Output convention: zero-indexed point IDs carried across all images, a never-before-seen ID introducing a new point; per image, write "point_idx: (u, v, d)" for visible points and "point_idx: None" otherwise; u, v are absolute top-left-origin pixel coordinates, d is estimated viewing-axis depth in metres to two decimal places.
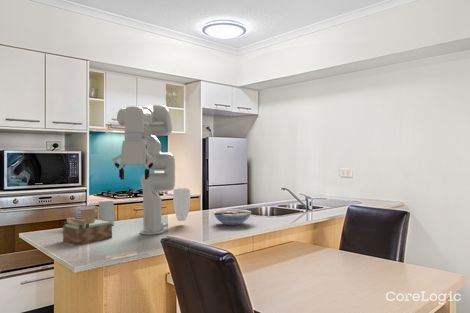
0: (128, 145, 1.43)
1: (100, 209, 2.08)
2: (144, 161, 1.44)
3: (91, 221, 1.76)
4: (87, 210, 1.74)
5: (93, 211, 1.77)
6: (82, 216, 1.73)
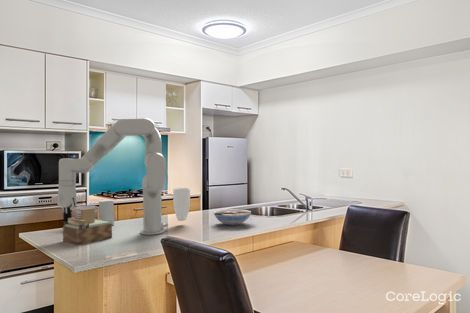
0: None
1: (100, 209, 2.08)
2: None
3: (91, 221, 1.76)
4: (87, 210, 1.74)
5: (93, 211, 1.77)
6: (82, 216, 1.73)
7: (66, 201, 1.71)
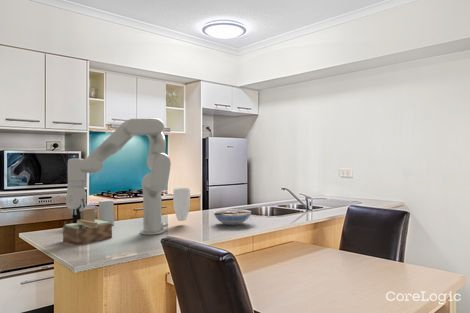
0: None
1: (100, 209, 2.08)
2: None
3: None
4: (87, 210, 1.74)
5: (93, 211, 1.77)
6: (82, 216, 1.73)
7: (75, 202, 1.66)
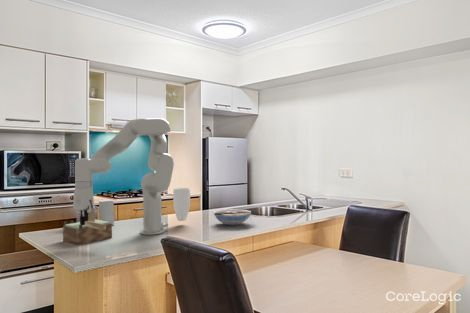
0: None
1: (100, 209, 2.08)
2: None
3: None
4: None
5: (93, 211, 1.77)
6: None
7: (83, 203, 1.62)
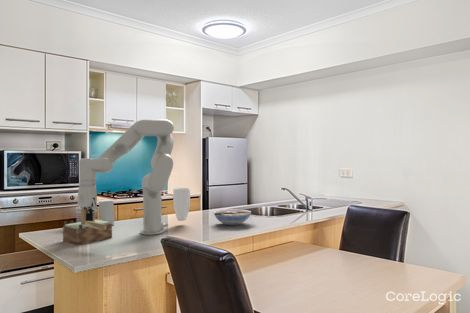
0: None
1: (100, 209, 2.08)
2: None
3: None
4: None
5: (93, 211, 1.77)
6: (82, 216, 1.73)
7: (87, 201, 1.71)
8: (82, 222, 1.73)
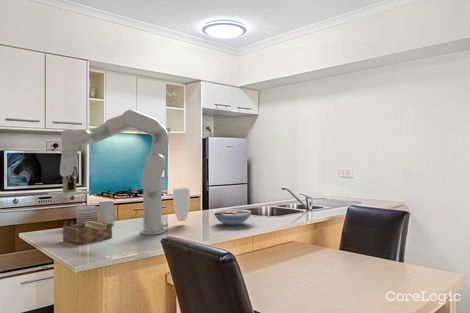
0: None
1: (100, 209, 2.08)
2: None
3: (73, 190, 1.85)
4: None
5: (75, 181, 1.86)
6: (63, 185, 1.82)
7: (68, 170, 1.80)
8: (64, 191, 1.82)
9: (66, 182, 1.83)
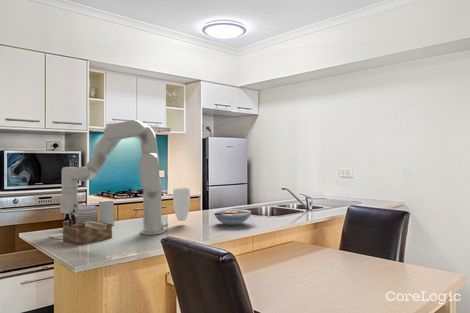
0: None
1: (100, 209, 2.08)
2: None
3: None
4: None
5: None
6: None
7: (69, 207, 1.81)
8: None
9: (67, 225, 1.83)
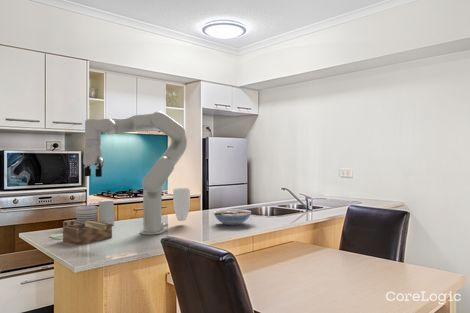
0: None
1: (100, 209, 2.08)
2: None
3: None
4: (69, 222, 1.84)
5: (75, 223, 1.86)
6: None
7: (92, 159, 1.80)
8: None
9: (67, 225, 1.83)
